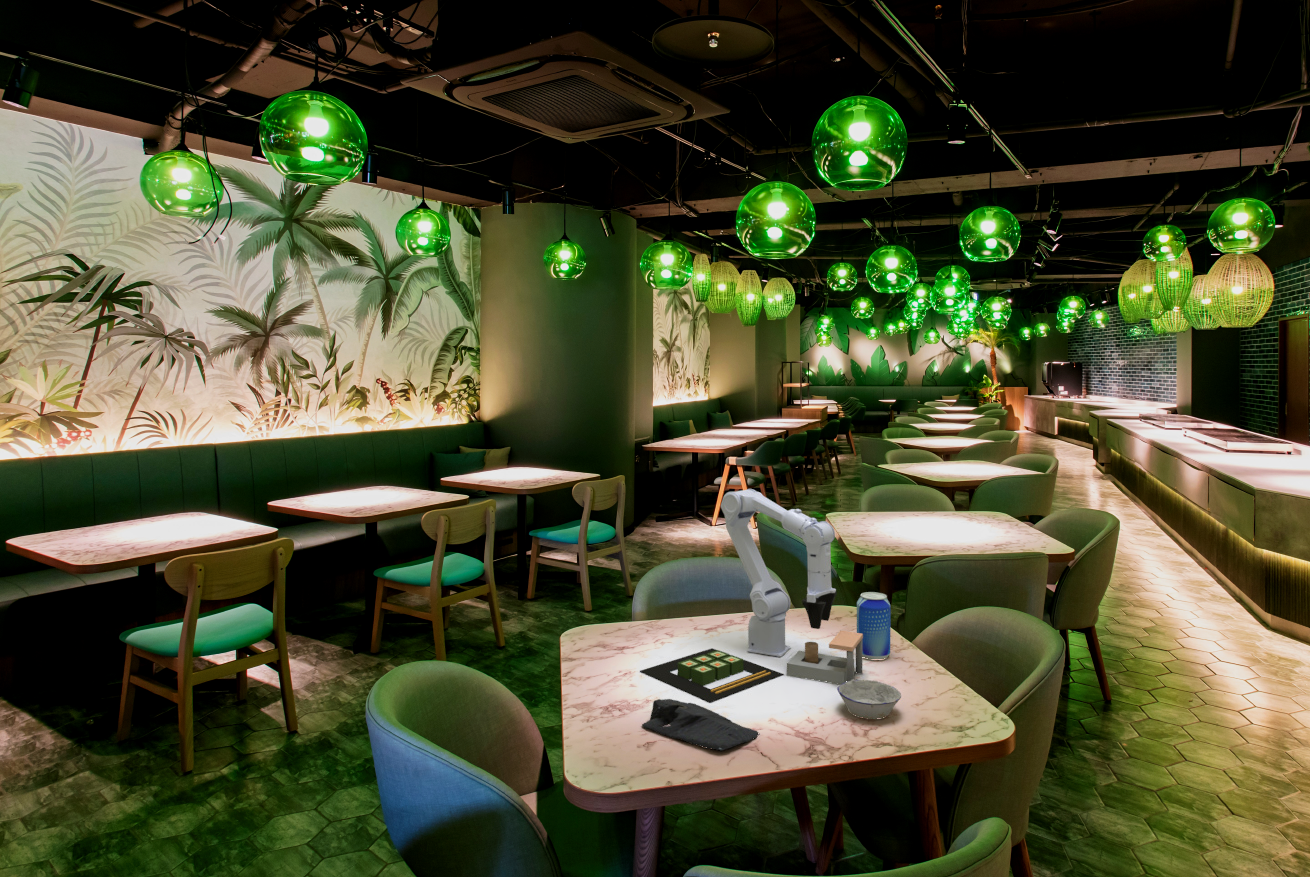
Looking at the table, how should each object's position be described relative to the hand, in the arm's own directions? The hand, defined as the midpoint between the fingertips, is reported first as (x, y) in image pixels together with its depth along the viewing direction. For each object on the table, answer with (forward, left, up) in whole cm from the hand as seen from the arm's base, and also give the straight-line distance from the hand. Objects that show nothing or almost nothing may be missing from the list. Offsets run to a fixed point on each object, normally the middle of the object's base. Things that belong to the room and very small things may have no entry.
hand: (820, 623), depth 183 cm
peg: (0, -6, -10) cm, 12 cm away
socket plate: (+2, -6, -10) cm, 12 cm away
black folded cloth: (-12, -47, -11) cm, 50 cm away
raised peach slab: (+8, -6, -10) cm, 14 cm away
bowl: (+17, -23, -11) cm, 30 cm away
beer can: (+11, +12, -11) cm, 19 cm away
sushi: (-22, -18, -11) cm, 31 cm away
